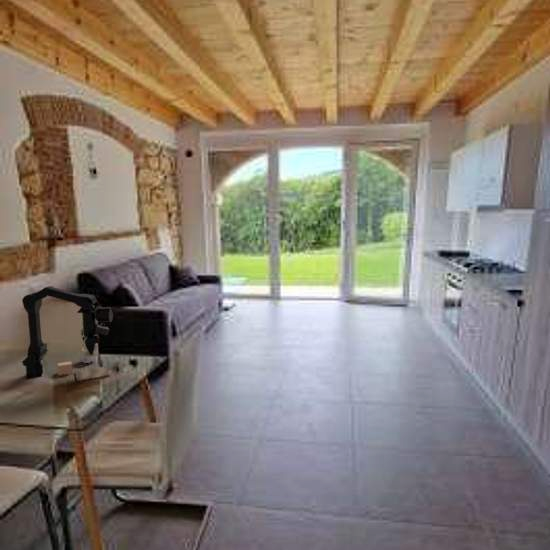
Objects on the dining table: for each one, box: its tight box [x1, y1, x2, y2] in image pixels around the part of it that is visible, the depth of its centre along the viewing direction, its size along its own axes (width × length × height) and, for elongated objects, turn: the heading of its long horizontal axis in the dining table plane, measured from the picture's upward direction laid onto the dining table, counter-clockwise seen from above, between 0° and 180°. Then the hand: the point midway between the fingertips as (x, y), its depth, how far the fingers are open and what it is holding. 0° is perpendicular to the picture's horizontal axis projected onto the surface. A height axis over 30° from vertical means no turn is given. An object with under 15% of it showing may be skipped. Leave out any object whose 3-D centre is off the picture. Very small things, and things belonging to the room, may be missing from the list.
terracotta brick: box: [56, 361, 73, 376], centre depth 200 cm, size 6×4×5 cm, turn 121°
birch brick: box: [82, 343, 99, 358], centre depth 197 cm, size 6×4×5 cm, turn 121°
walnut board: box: [74, 366, 111, 382], centre depth 199 cm, size 14×12×1 cm
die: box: [76, 348, 97, 364], centre depth 215 cm, size 8×9×10 cm
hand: (90, 353), depth 198 cm, fingers closed on birch brick, 4 cm apart
